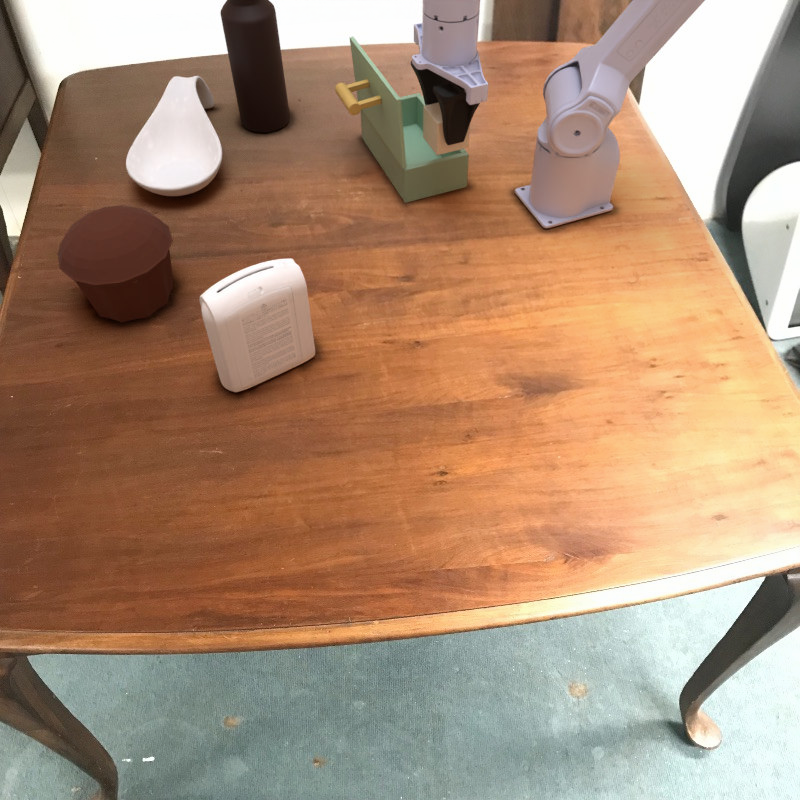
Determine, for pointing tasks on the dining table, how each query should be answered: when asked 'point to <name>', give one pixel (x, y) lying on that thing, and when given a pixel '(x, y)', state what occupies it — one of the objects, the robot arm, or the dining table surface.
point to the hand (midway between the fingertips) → (446, 131)
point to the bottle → (256, 63)
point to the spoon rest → (177, 142)
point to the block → (438, 131)
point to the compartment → (417, 157)
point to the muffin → (119, 261)
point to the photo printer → (258, 323)
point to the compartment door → (374, 101)
